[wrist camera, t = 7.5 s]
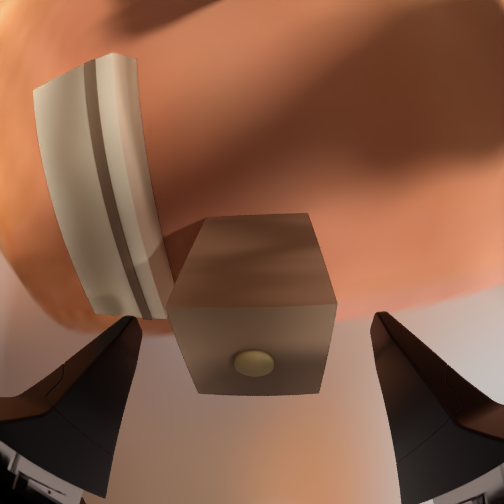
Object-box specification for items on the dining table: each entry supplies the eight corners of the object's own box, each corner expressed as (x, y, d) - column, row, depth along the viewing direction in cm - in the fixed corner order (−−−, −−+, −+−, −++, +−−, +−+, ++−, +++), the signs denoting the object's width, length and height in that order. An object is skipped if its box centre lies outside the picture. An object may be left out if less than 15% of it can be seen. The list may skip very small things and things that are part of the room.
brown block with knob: (307, 212, 12) (338, 308, 6) (304, 293, 14) (319, 397, 9) (206, 217, 12) (162, 311, 7) (218, 295, 14) (197, 397, 9)
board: (136, 58, 8) (111, 52, 7) (177, 293, 14) (166, 320, 13) (59, 88, 9) (31, 90, 7) (109, 292, 15) (94, 315, 13)
